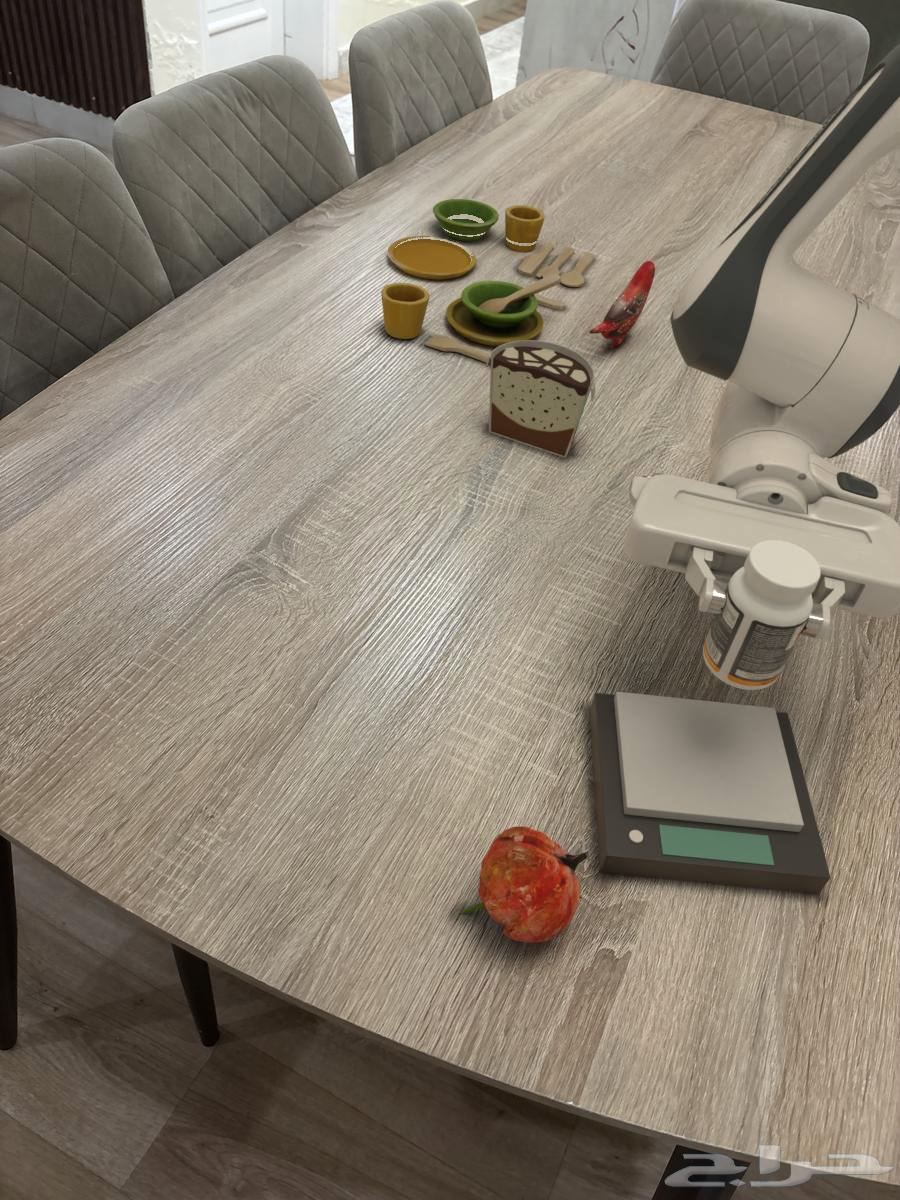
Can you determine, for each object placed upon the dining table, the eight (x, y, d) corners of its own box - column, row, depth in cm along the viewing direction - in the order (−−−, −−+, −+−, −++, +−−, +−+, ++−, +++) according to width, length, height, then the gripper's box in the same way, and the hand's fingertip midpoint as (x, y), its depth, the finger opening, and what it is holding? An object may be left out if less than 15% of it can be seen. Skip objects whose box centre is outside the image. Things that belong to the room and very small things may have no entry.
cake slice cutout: (595, 436, 108) (614, 358, 101) (578, 463, 104) (596, 384, 97) (497, 404, 111) (508, 326, 104) (476, 429, 107) (487, 350, 100)
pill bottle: (789, 659, 69) (841, 559, 62) (761, 706, 65) (814, 606, 58) (717, 623, 71) (760, 522, 64) (687, 667, 67) (729, 566, 60)
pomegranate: (487, 985, 63) (621, 942, 60) (428, 931, 60) (568, 883, 56) (486, 890, 69) (608, 847, 66) (432, 836, 65) (559, 787, 62)
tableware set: (511, 379, 115) (519, 332, 111) (311, 319, 121) (311, 272, 117) (604, 257, 143) (613, 215, 139) (438, 213, 150) (442, 172, 145)
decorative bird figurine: (648, 329, 128) (667, 259, 121) (589, 381, 117) (606, 306, 110) (629, 322, 129) (647, 252, 122) (569, 373, 118) (584, 298, 111)
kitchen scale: (777, 731, 79) (792, 704, 76) (818, 895, 68) (836, 870, 66) (588, 711, 78) (597, 684, 76) (599, 873, 68) (609, 847, 65)
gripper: (642, 437, 72) (623, 549, 62) (913, 495, 70) (937, 621, 60) (624, 501, 77) (603, 615, 67) (878, 558, 75) (895, 685, 65)
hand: (764, 619), depth 64 cm, fingers closed on pill bottle, 5 cm apart
